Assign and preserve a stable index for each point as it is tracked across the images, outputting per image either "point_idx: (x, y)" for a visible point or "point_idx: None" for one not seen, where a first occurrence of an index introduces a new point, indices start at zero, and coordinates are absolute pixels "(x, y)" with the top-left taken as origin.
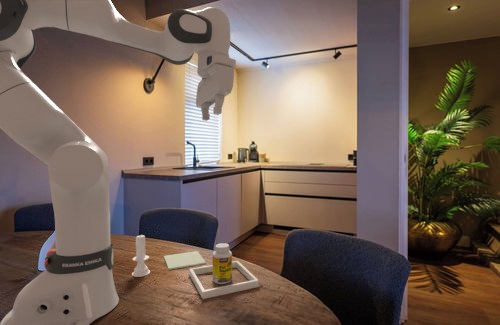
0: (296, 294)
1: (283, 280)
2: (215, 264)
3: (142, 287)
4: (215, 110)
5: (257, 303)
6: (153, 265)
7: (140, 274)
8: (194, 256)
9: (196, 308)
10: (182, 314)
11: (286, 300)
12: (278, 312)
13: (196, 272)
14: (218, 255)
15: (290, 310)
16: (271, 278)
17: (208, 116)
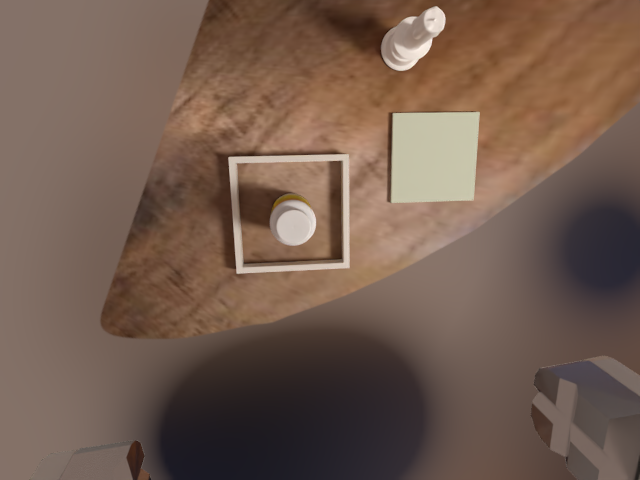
0: (187, 318)
1: (246, 322)
2: (281, 200)
3: (325, 47)
4: (34, 476)
5: (181, 244)
6: (436, 81)
7: (385, 45)
8: (439, 185)
9: (202, 138)
10: (190, 111)
11: (174, 293)
12: (142, 265)
13: (341, 169)
14: (276, 209)
15: (142, 285)
16: (263, 305)
17: (567, 451)
